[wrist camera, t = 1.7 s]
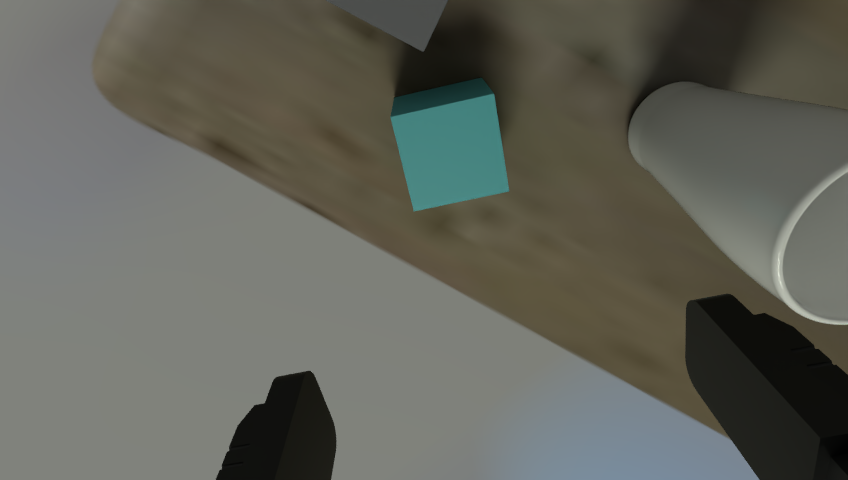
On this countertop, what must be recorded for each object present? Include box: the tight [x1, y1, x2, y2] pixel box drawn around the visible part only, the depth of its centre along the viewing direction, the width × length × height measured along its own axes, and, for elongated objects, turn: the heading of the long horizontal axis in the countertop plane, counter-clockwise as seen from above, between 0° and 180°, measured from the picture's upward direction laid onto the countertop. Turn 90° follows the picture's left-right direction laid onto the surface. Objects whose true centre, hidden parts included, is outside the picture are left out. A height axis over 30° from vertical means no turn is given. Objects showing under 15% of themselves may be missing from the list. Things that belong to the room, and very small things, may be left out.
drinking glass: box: [628, 81, 848, 325], centre depth 23 cm, size 7×7×15 cm
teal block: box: [391, 77, 509, 211], centre depth 27 cm, size 5×5×5 cm
